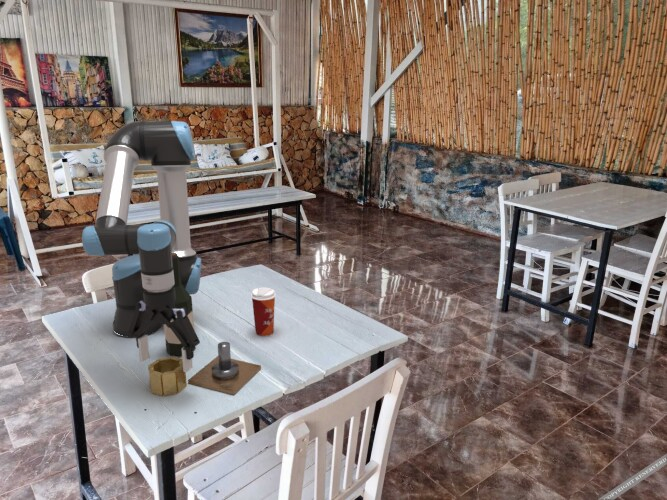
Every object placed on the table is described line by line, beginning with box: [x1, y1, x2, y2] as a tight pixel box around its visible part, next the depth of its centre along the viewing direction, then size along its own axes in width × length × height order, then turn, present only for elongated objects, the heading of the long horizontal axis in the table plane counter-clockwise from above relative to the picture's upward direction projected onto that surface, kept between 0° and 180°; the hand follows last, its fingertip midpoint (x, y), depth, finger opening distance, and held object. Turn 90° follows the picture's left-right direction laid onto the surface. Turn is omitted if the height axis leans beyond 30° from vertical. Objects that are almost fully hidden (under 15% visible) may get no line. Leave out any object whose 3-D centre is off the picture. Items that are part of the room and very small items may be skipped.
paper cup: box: [250, 287, 277, 337], centre depth 165 cm, size 8×8×14 cm
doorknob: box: [187, 341, 262, 396], centre depth 141 cm, size 14×14×10 cm
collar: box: [147, 356, 187, 397], centre depth 137 cm, size 9×9×6 cm
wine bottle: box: [163, 253, 197, 358], centre depth 151 cm, size 8×8×30 cm
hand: (166, 364), depth 135 cm, fingers open, 13 cm apart
